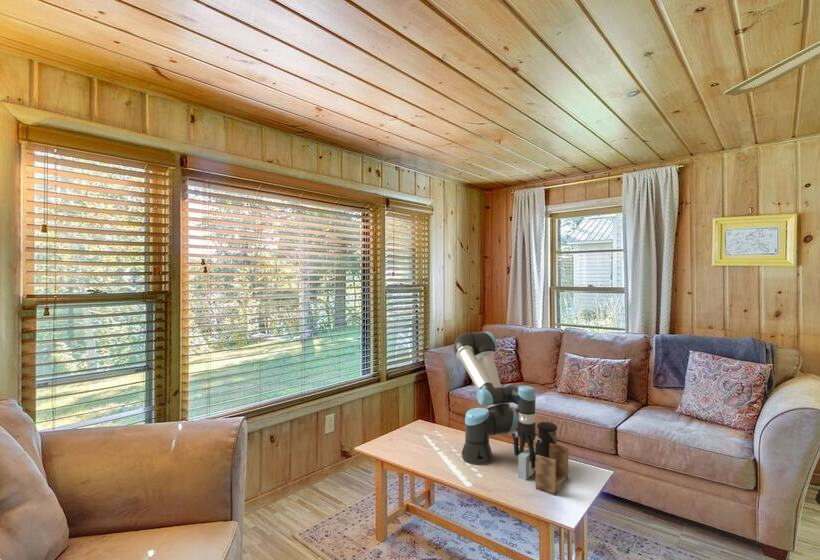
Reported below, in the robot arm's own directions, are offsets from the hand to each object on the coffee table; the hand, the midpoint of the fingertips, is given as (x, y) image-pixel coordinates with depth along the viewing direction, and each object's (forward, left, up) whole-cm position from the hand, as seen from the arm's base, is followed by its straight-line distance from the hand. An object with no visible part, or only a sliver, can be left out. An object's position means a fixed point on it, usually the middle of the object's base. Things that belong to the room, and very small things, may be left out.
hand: (526, 473), depth 184 cm
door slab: (0, 0, -1) cm, 1 cm away
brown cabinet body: (+12, -1, -1) cm, 12 cm away
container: (+4, +14, -1) cm, 15 cm away
